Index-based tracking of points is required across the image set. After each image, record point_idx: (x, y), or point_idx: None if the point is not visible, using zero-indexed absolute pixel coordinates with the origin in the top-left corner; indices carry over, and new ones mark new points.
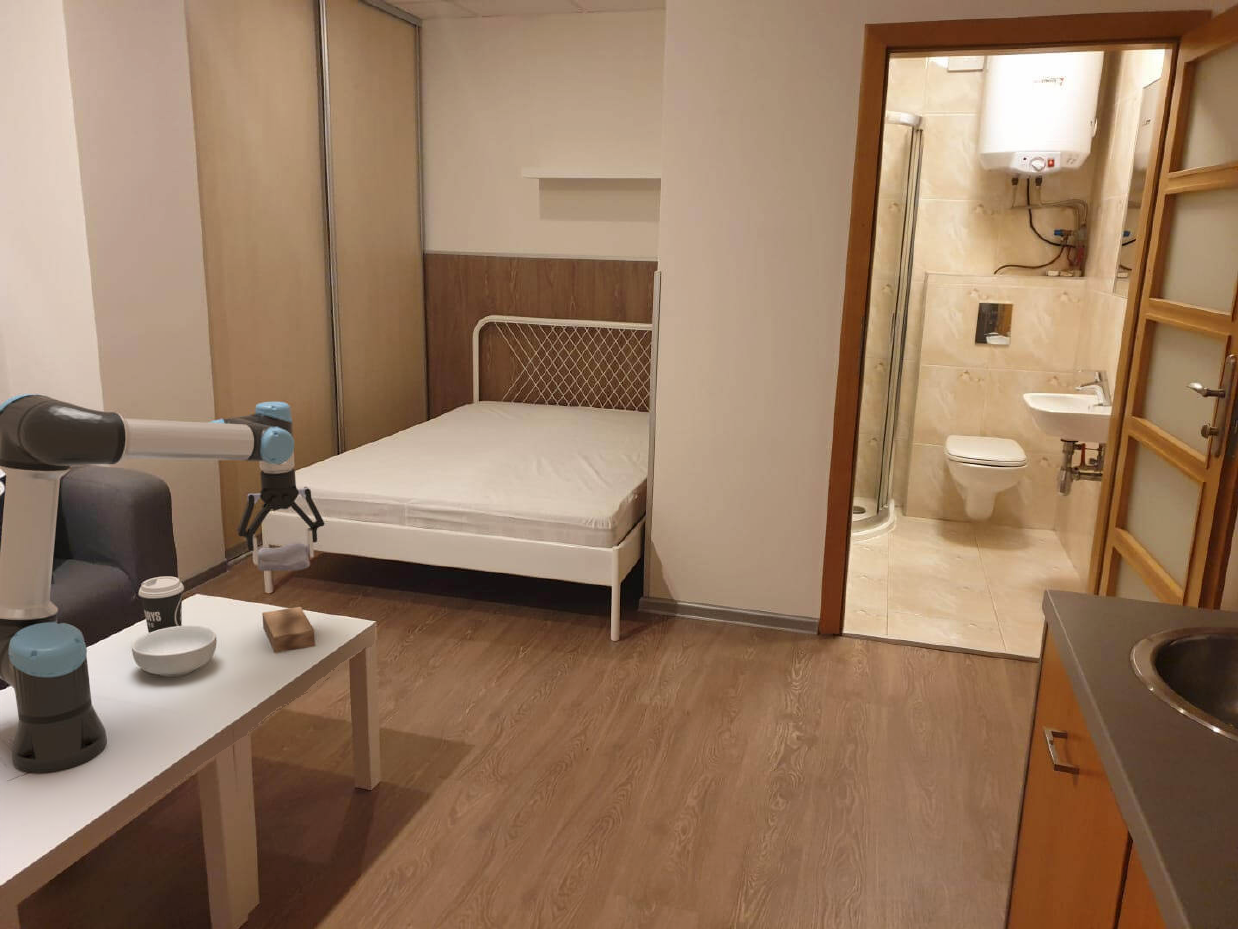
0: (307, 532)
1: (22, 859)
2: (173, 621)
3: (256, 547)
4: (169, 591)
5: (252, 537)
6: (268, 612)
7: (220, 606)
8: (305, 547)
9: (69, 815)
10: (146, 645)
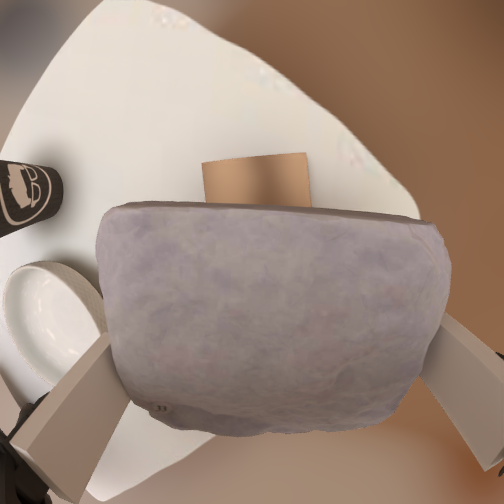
0: (498, 414)
1: (98, 498)
2: (25, 223)
3: (96, 455)
4: None
5: (47, 486)
6: (217, 166)
7: (136, 28)
8: (428, 345)
9: (100, 488)
10: (18, 286)
